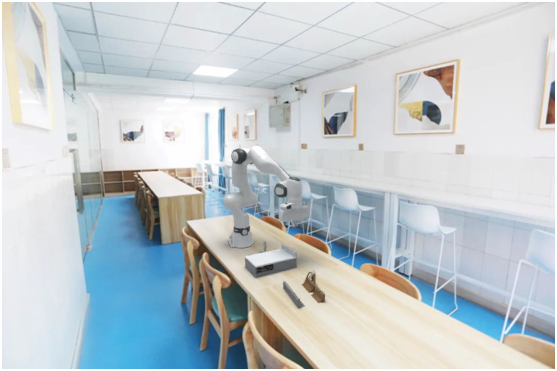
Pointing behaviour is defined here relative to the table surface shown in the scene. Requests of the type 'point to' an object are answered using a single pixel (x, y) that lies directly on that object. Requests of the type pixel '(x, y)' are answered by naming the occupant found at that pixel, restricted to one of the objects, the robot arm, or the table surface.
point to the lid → (272, 256)
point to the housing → (270, 270)
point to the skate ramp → (309, 286)
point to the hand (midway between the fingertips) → (294, 226)
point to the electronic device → (263, 248)
